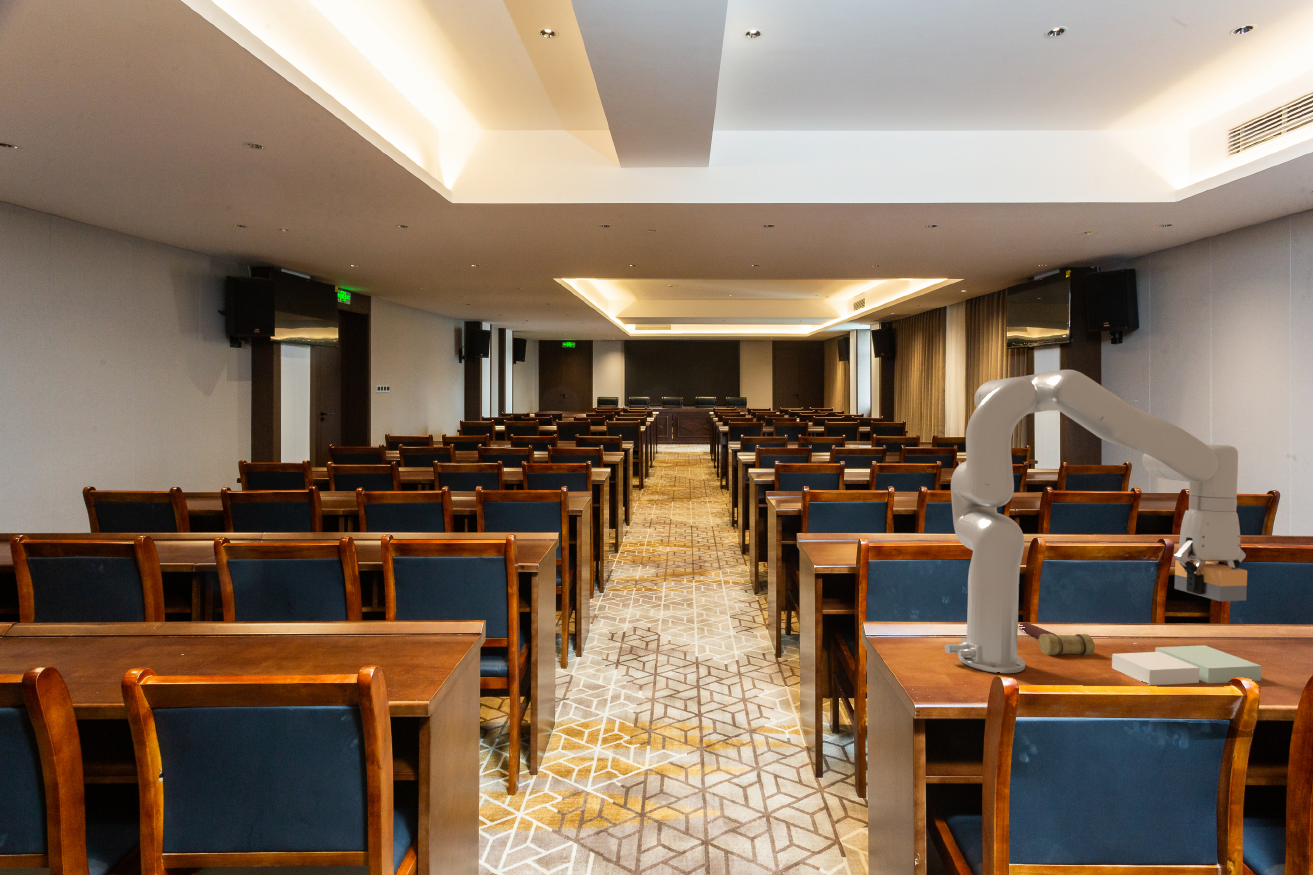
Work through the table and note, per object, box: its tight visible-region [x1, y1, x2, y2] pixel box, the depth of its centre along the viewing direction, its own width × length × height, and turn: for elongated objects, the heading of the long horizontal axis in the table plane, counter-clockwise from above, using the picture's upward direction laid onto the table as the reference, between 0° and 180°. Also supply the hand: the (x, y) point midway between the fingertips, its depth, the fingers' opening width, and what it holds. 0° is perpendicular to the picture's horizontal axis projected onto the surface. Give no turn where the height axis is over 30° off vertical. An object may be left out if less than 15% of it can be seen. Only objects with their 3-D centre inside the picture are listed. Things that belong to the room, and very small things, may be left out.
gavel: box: [1018, 621, 1096, 656], centre depth 158 cm, size 21×5×10 cm
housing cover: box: [1174, 559, 1248, 586], centre depth 139 cm, size 10×6×3 cm, turn 8°
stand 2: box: [1154, 644, 1262, 684], centre depth 140 cm, size 12×12×3 cm
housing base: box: [1174, 574, 1248, 602], centre depth 139 cm, size 10×6×3 cm, turn 8°
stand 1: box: [1111, 651, 1200, 686], centre depth 137 cm, size 11×9×3 cm
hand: (1209, 591), depth 139 cm, fingers closed on housing base, housing cover, 6 cm apart
